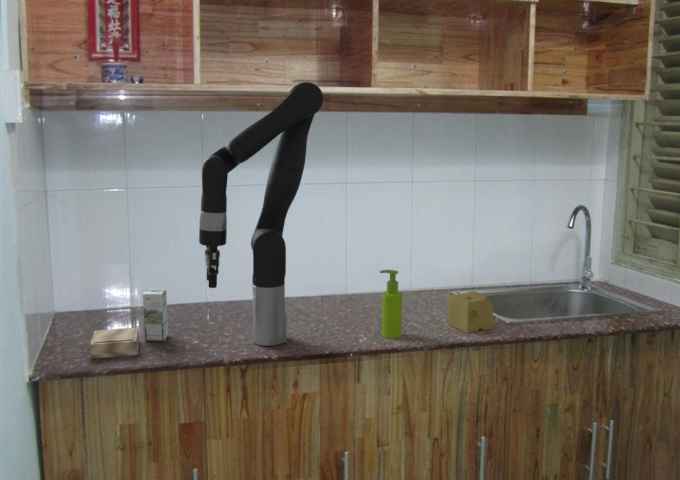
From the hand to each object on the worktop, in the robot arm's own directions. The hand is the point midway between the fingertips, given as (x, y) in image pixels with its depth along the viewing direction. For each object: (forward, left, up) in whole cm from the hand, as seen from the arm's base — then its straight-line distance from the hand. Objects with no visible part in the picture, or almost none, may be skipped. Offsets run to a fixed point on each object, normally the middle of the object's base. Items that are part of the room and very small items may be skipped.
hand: (211, 283), depth 190 cm
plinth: (+27, -2, -18) cm, 32 cm away
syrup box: (+16, -9, -18) cm, 26 cm away
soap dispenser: (-52, +4, -18) cm, 55 cm away
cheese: (-79, +2, -18) cm, 81 cm away
